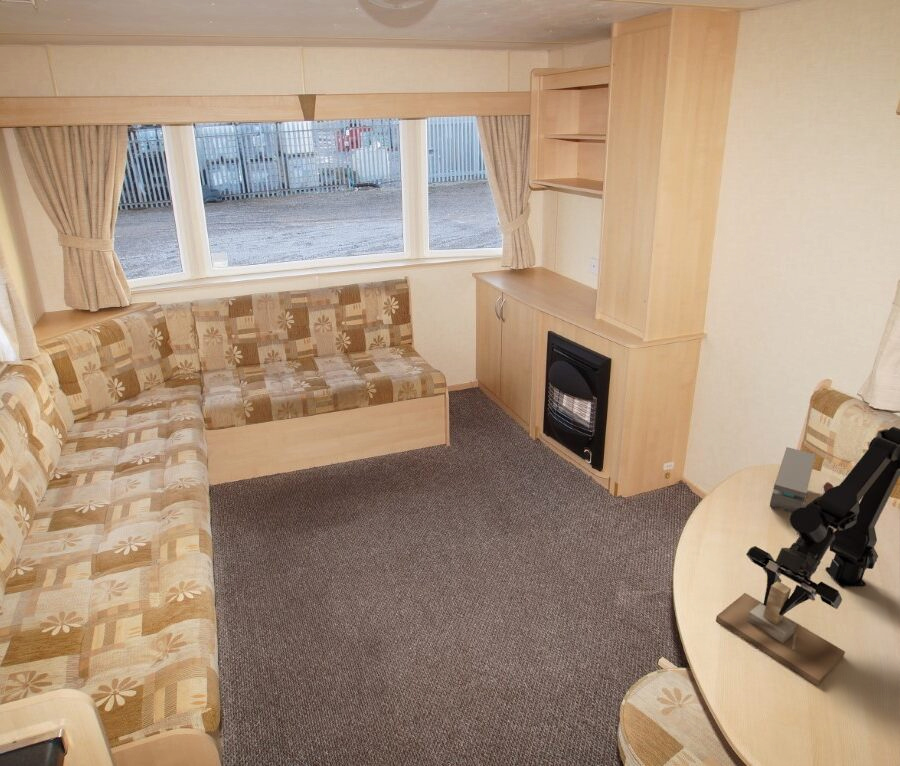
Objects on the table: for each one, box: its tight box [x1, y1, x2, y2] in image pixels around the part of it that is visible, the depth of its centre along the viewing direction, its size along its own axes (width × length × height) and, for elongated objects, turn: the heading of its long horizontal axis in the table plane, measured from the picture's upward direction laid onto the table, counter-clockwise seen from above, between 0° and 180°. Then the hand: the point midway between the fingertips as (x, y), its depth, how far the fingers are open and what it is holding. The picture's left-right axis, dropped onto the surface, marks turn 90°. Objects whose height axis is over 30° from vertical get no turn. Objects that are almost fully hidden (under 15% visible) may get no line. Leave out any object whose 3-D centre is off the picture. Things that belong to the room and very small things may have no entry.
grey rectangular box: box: [769, 446, 817, 513], centre depth 186 cm, size 25×8×11 cm, turn 147°
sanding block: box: [747, 581, 796, 643], centre depth 138 cm, size 8×4×11 cm, turn 38°
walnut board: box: [715, 592, 846, 687], centre depth 139 cm, size 22×12×2 cm, turn 39°
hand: (772, 610), depth 137 cm, fingers closed on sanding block, 3 cm apart
